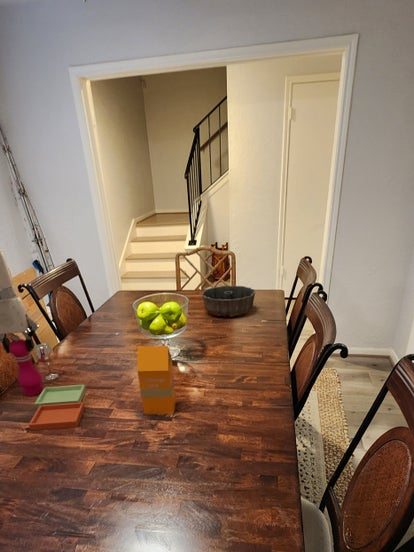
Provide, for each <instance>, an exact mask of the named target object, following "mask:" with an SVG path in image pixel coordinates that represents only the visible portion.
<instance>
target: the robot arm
mask: <svg viewBox="0 0 414 552" xmlns="http://www.w3.org/2000/svg"><path fill="white" fill-rule="evenodd" d="M13 282H14V281H13V280H12V276H11V272H10V270H9V266H8V263H7V260H6V257H5V254H4V251H3V250H2V249H1V248H0V342H1V344H2V347H3V350H4V351H5V353H6V354H11V353H10V351H9V344H10V343H11V340H10V338H9V337H8V335H9V334H20V333H21V334H22V335H23V337H24V338H25V339H24V340H25V343H26V346H27V349H28V351H29V352H30V353H31V352H32V351H33V350H34V349H35V343H34V340H33V336H34V334H35V333H36V331H37V330H38V329H39V328H40V324H38V323H37V322H36V321H34V320H33V319H31V318H30V316H29V313H28V310H27V309H26V306H25V304H24V302H23V300H22V298H21V297H20V295H17V292H16V291H17V290H16V288H15V284H14V283H13ZM30 327H31V329H30Z"/></svg>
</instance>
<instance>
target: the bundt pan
mask: <svg viewBox="0 0 414 552" xmlns="http://www.w3.org/2000/svg"><path fill="white" fill-rule="evenodd" d="M255 295H256V290H255V289H253V288H252V287H248V286H245V285H220V286H214V287H210V288H206V289H205V290H203V291H202V292H201V297H202V299H203V305H204V308H205V309H206V311H207V312H208V313H209V314H210V315H213V316H217V317H221V316H222V317H224V318H226V317H230V318H232V317H235V316H237V317H239V316H241V315H245V314H247V313H248V312H249V311H251V310H252V308H253V306H254V301H255Z"/></svg>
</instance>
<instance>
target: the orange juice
mask: <svg viewBox="0 0 414 552" xmlns="http://www.w3.org/2000/svg"><path fill="white" fill-rule="evenodd" d="M136 353H137V355H136V358H137V361H136V363H137V366H136V368H137V376H138V383H139V390H140V397H141V402H142V408H143V414H144V415H174V414H175V408H176V403H177V395H176V386H175V384H176V383H175V376H174V367H173V357H172V356H171V352H170V349H169V345H149V346H148V345H147V346H145V345H144V346H143V345H142V346H137V347H136Z"/></svg>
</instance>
